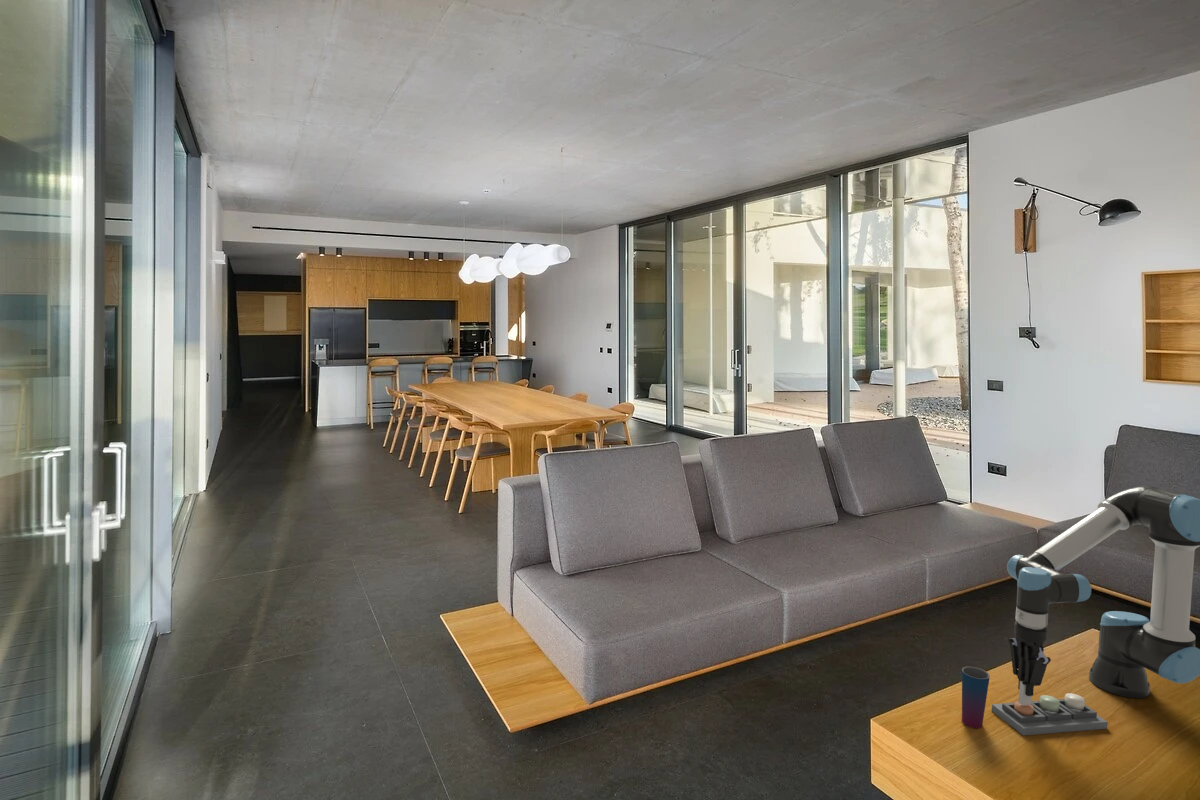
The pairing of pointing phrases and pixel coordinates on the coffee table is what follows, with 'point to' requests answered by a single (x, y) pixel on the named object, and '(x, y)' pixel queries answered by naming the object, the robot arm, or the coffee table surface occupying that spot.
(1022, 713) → the button rust
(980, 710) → the cup
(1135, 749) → the coffee table surface
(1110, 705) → the coffee table surface
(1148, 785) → the coffee table surface
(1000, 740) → the coffee table surface
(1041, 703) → the button sage
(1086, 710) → the panel
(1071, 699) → the button cream
